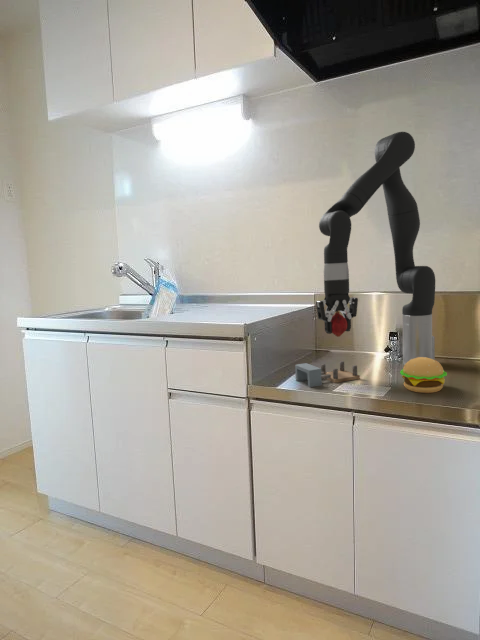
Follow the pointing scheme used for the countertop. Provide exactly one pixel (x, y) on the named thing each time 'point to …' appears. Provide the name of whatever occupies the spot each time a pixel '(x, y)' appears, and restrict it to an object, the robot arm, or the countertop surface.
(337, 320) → the onion
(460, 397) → the countertop surface
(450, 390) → the countertop surface
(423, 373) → the hamburger
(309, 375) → the housing
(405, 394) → the countertop surface
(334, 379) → the pin seat
